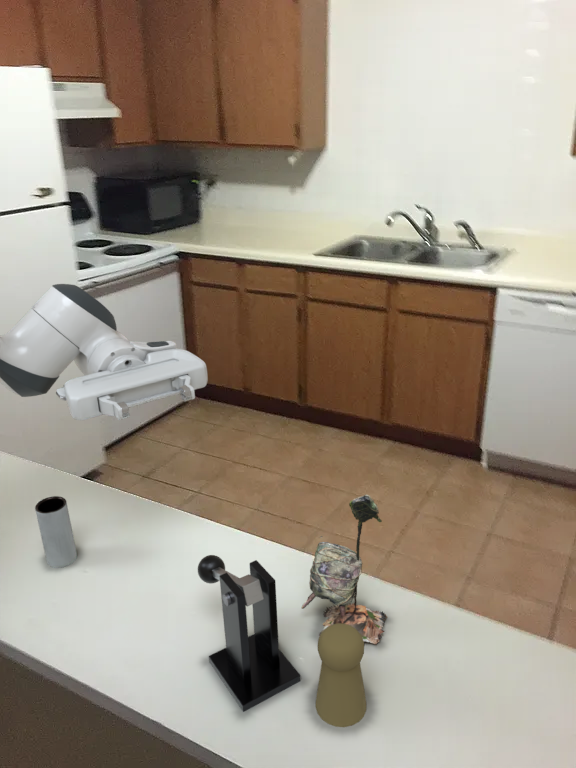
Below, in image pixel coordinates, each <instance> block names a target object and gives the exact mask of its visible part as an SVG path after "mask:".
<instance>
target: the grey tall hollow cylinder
mask: <svg viewBox="0 0 576 768" xmlns="http://www.w3.org/2000/svg"><path fill="white" fill-rule="evenodd" d="M34 510H35V511H34V512H35V515H36V520H37V524H38V528H39V534H40V537H41V542H42V546H43V551H44V555H45V561H46V563H47V565H48V566H49V567H50V568H53V569H60V568H65V567H68V566H70V565H72V564H73V563H74V562H75V561H76V560H77V558H78V552H77V547H76V542H75V536H74V531H73V526H72V522H71V516H70V512H69V511H70V510H69V507H68V502H67V499H66V498H64V497H63V496H60V495H54V496H49V497H45V498H42V499H41V500H39V501H38V502H36V504H35V507H34Z"/></svg>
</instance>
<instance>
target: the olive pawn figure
mask: <svg viewBox="0 0 576 768" xmlns="http://www.w3.org/2000/svg"><path fill="white" fill-rule="evenodd" d="M320 633H321V632H320ZM319 635H320V634H319ZM317 653H318V655H319V659H320V660H321V665H320V672H319V677H318V678H319V679H318V684H317V689H316V697H315V706H314V707H315V710H316V713H317V716H319V718H320V719H321V720H322V721H323V722H324V723H326V724H327V725H330V726H333V727H335V728H347V727H352V726H354V725H356V724H358V723H359V722H361V721H362V720H363V718H364V717H365V715H366V712H367V699H366V692H365V686H364V680H363V678H364V677H363V673H362V666H361V662H362V659H363V658H364V654H365V642H364V641H363V638H362V636H361V634H360V633H359V632H358V631H357V630H356V629H355V628H354V627H352V626H351V625H347V624H341V623H338V624H333V625H330V626H328V627H327V628H326V629H325V630H324V631H323V632H322V633H321V635H320V636H318V639H317Z"/></svg>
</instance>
